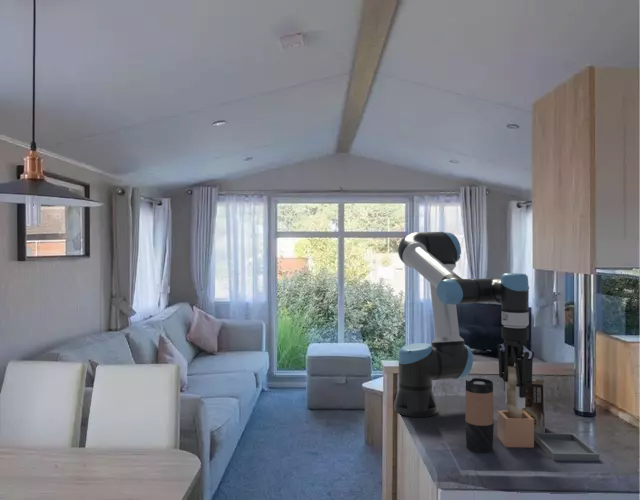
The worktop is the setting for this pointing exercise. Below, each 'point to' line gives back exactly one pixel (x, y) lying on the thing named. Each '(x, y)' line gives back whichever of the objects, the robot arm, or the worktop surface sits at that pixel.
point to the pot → (515, 430)
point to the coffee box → (536, 404)
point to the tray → (565, 447)
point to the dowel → (512, 394)
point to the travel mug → (479, 415)
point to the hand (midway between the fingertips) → (515, 405)
